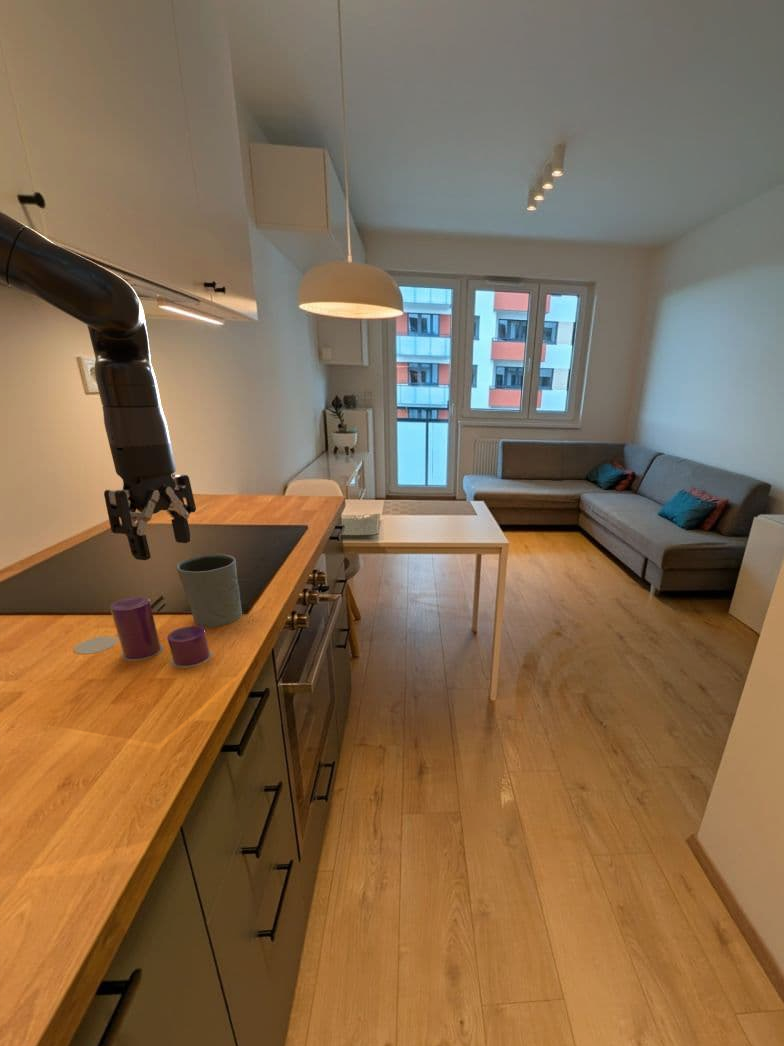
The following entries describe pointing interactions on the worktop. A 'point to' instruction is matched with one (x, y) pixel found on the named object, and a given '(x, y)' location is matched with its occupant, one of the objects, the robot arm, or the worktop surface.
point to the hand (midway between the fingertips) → (164, 550)
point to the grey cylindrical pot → (211, 589)
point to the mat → (108, 642)
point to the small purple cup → (140, 644)
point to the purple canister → (188, 645)
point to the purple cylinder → (132, 615)
